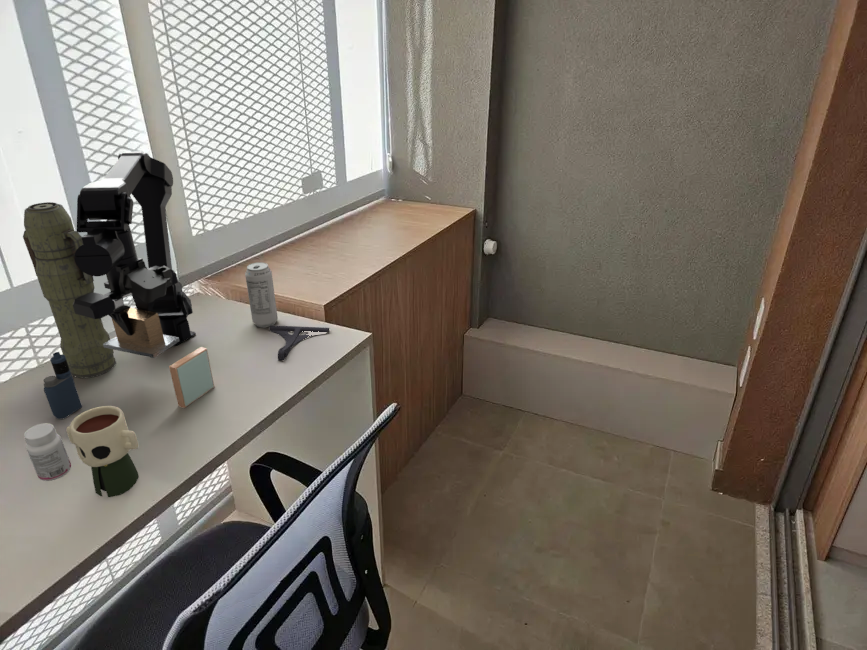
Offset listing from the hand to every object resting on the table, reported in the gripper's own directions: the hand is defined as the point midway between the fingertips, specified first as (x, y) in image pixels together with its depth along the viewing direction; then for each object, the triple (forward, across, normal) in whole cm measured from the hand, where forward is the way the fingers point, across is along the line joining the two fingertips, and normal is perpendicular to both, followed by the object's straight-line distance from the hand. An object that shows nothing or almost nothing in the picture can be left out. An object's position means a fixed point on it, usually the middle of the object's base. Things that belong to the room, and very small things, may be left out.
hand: (138, 330), depth 111 cm
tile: (+12, 0, -12) cm, 17 cm away
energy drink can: (+12, +31, -4) cm, 34 cm away
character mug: (+12, -24, -19) cm, 33 cm away
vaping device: (+12, -14, +6) cm, 20 cm away
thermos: (+12, -1, +16) cm, 20 cm away
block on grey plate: (+3, 0, 0) cm, 3 cm away
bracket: (+13, +25, -16) cm, 32 cm away
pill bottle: (+12, -26, -7) cm, 30 cm away
